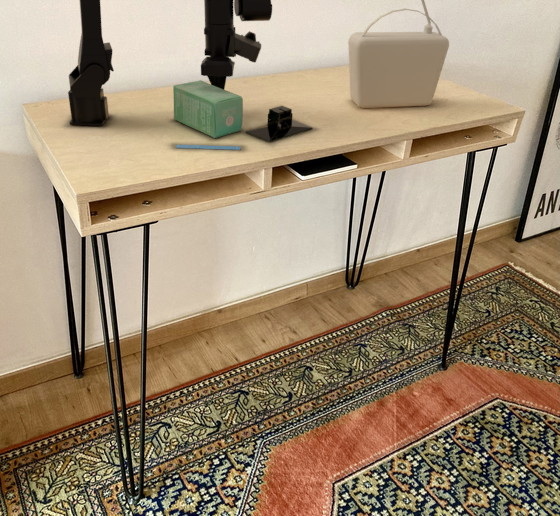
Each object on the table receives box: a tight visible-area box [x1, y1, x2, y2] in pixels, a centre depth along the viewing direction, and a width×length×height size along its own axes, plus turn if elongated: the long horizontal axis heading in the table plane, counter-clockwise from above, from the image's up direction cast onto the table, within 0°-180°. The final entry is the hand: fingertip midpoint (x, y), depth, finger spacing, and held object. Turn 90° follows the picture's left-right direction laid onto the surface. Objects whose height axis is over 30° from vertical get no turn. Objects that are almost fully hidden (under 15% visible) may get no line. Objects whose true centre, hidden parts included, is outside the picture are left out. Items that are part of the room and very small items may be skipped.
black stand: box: [245, 105, 313, 144], centre depth 126 cm, size 12×7×5 cm, turn 134°
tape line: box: [175, 144, 241, 151], centre depth 118 cm, size 12×2×1 cm, turn 92°
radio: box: [347, 0, 450, 109], centre depth 140 cm, size 22×8×25 cm, turn 104°
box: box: [172, 79, 244, 139], centre depth 126 cm, size 7×14×8 cm, turn 45°
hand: (220, 98), depth 133 cm, fingers closed
